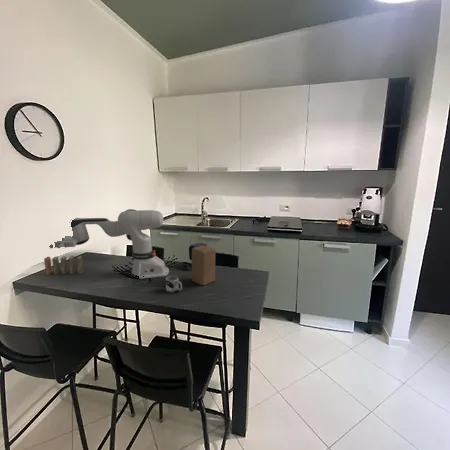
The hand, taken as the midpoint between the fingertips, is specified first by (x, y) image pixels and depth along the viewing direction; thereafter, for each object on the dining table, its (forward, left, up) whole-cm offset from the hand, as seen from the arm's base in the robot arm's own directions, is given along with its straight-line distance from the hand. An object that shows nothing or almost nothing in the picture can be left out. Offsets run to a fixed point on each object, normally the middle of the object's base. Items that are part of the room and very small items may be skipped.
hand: (54, 247), depth 177 cm
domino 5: (-18, +12, -13) cm, 25 cm away
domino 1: (0, +11, -13) cm, 17 cm away
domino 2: (-5, +12, -13) cm, 18 cm away
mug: (-76, +42, -14) cm, 88 cm away
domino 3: (-9, +12, -13) cm, 20 cm away
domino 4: (-14, +12, -13) cm, 22 cm away
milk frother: (-88, +8, -14) cm, 89 cm away
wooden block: (-92, +32, -13) cm, 99 cm away
